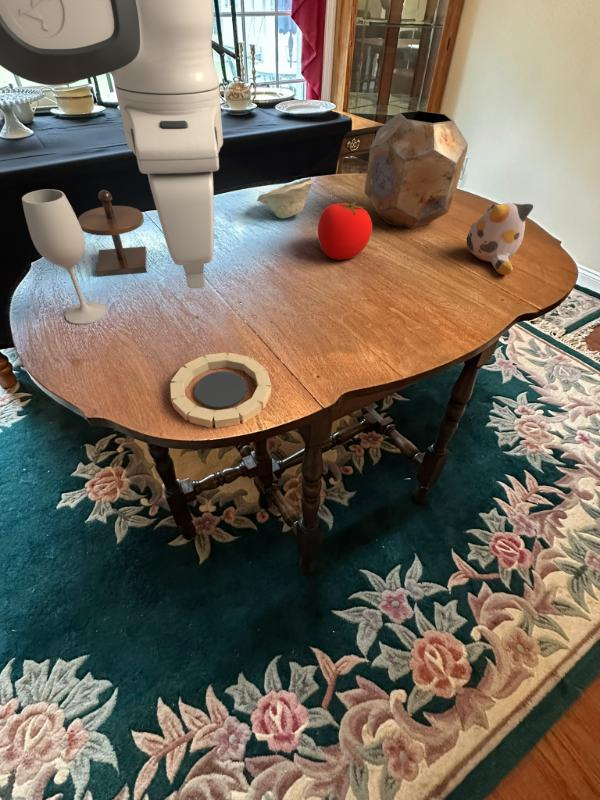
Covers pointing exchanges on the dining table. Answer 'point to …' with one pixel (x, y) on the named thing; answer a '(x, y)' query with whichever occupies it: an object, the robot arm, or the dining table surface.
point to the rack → (115, 237)
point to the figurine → (499, 234)
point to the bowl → (287, 198)
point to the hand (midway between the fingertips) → (193, 263)
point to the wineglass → (60, 243)
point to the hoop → (226, 415)
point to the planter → (415, 168)
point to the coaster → (220, 390)
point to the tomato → (344, 230)
